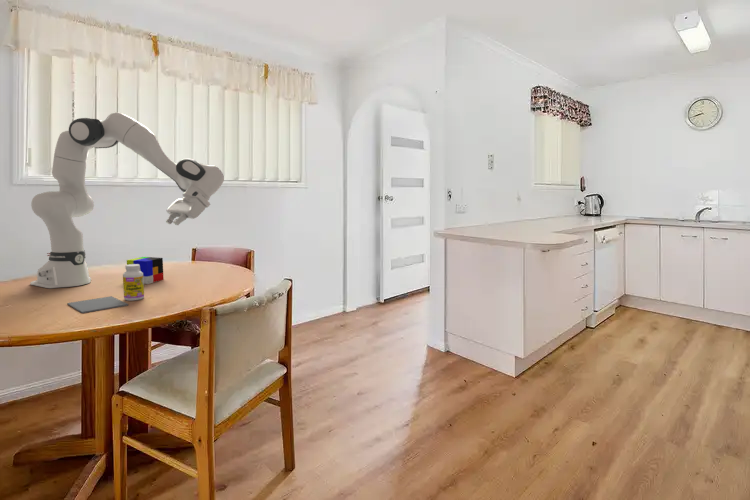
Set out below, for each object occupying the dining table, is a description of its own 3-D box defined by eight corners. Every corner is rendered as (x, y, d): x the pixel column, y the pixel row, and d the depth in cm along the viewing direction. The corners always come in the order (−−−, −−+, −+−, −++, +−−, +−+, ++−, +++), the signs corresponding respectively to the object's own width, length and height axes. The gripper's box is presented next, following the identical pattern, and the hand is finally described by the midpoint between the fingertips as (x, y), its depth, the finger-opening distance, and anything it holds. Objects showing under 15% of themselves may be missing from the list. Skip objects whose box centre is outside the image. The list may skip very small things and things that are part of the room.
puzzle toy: (148, 284, 187) (146, 261, 186) (127, 282, 189) (126, 260, 188) (163, 279, 197) (162, 257, 195) (144, 278, 199) (143, 256, 197)
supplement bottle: (123, 301, 157) (121, 267, 156) (124, 297, 163) (122, 264, 161) (144, 300, 161) (142, 265, 159) (144, 296, 166) (142, 263, 165)
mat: (111, 297, 163) (111, 296, 163) (128, 305, 153) (128, 304, 153) (67, 304, 153) (67, 303, 153) (82, 313, 142) (82, 311, 142)
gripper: (177, 192, 181) (154, 216, 175) (201, 193, 168) (177, 219, 162) (187, 203, 185) (165, 227, 179) (212, 204, 172) (189, 230, 166)
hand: (171, 223), depth 170 cm, fingers open, 5 cm apart
